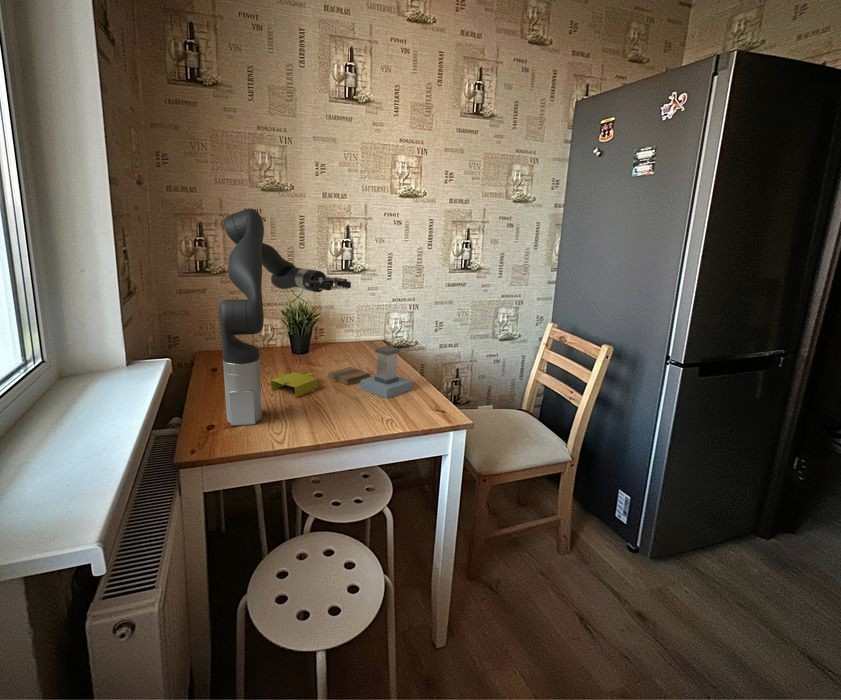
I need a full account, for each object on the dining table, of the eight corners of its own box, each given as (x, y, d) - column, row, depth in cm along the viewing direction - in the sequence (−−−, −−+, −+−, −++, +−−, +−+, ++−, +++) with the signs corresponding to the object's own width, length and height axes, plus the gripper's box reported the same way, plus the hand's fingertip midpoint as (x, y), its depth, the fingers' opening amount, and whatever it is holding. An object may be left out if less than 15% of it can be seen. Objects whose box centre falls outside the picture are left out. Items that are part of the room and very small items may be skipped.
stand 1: (369, 378, 172) (369, 373, 171) (347, 385, 164) (347, 379, 164) (350, 372, 178) (350, 366, 177) (328, 378, 171) (328, 372, 170)
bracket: (332, 366, 160) (299, 378, 148) (332, 388, 162) (300, 402, 150) (297, 357, 168) (263, 368, 155) (297, 378, 170) (264, 391, 157)
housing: (398, 380, 162) (399, 349, 159) (386, 384, 158) (387, 352, 155) (386, 376, 166) (387, 345, 163) (374, 380, 162) (375, 348, 159)
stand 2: (411, 389, 163) (412, 381, 163) (386, 398, 155) (386, 389, 154) (386, 380, 171) (386, 372, 170) (360, 388, 162) (360, 380, 161)
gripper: (293, 270, 168) (323, 276, 158) (326, 268, 178) (356, 273, 168) (294, 292, 170) (323, 299, 160) (326, 288, 180) (356, 295, 170)
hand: (340, 286), depth 164 cm, fingers open, 8 cm apart
